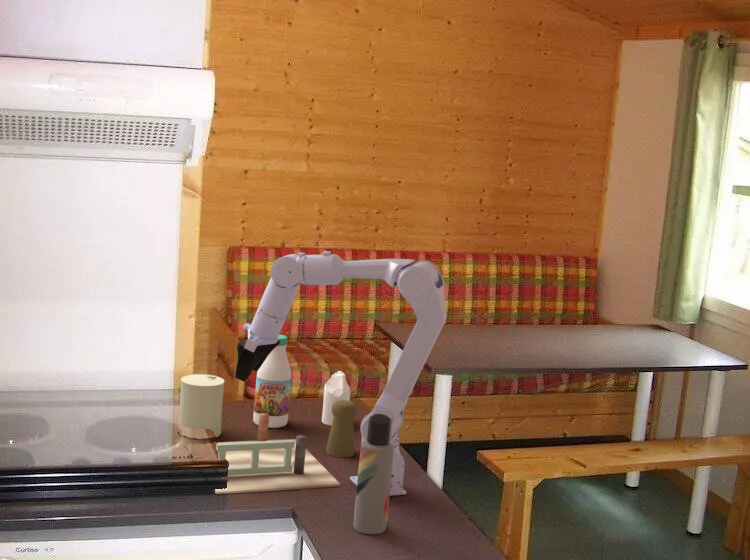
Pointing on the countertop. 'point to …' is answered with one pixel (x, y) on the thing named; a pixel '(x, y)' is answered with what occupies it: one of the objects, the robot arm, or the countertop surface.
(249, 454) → the base
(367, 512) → the lotion bottle
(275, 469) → the bar
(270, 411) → the milk bottle
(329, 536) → the countertop surface
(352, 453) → the cork
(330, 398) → the white chalk piece
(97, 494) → the countertop surface
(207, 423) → the can
